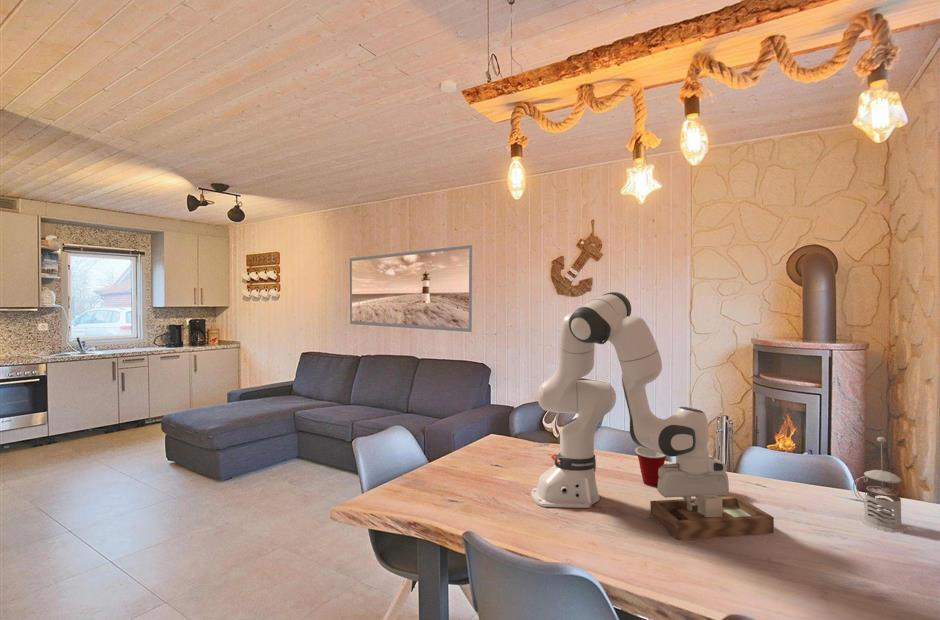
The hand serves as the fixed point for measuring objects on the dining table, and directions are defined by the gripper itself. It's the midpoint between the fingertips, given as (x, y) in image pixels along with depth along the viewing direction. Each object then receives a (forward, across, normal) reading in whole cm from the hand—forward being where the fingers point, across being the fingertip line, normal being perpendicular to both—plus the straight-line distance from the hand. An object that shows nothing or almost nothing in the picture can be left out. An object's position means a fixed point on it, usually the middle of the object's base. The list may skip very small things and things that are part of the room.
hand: (693, 510), depth 137 cm
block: (+1, +5, 0) cm, 5 cm away
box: (+3, +4, -2) cm, 5 cm away
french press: (+4, +52, -7) cm, 52 cm away
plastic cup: (+3, +2, +30) cm, 31 cm away
